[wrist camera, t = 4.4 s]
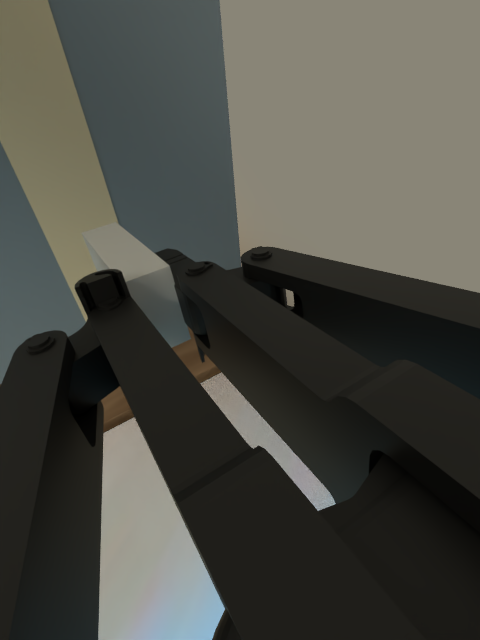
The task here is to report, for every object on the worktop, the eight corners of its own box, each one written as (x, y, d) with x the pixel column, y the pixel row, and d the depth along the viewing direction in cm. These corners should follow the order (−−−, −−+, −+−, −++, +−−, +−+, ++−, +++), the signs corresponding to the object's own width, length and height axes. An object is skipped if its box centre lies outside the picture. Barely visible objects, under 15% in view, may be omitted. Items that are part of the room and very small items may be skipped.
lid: (234, 275, 31) (242, 282, 30) (-34, 385, 24) (-33, 399, 23) (205, -22, 19) (218, -25, 18) (-366, 20, 11) (-391, 20, 11)
